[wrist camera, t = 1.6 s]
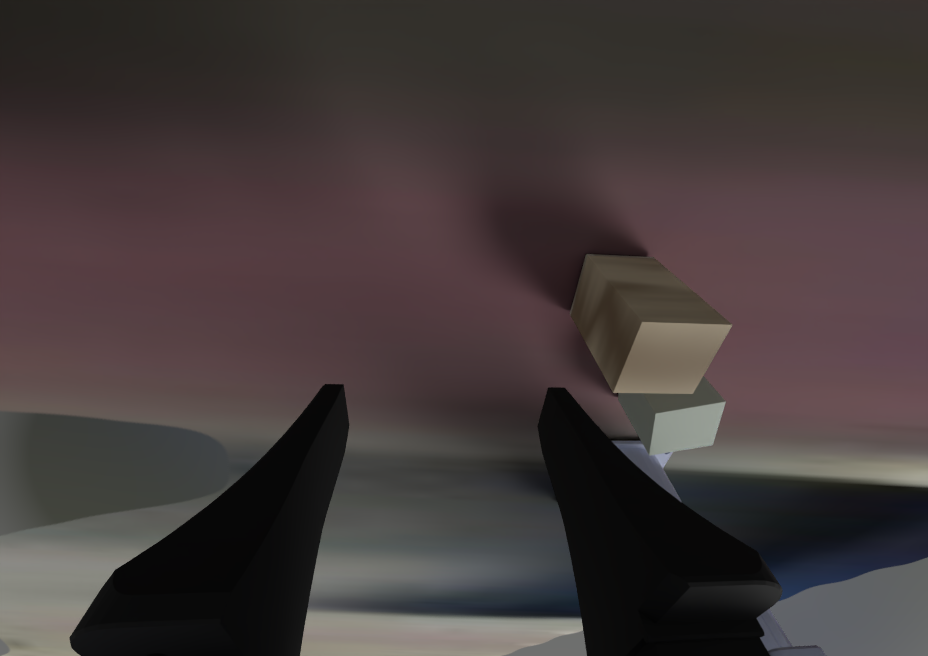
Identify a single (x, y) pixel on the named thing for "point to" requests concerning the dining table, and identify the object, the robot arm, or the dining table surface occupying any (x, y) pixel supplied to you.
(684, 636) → the robot arm
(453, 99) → the dining table surface
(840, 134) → the dining table surface
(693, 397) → the sage block
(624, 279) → the maple block
